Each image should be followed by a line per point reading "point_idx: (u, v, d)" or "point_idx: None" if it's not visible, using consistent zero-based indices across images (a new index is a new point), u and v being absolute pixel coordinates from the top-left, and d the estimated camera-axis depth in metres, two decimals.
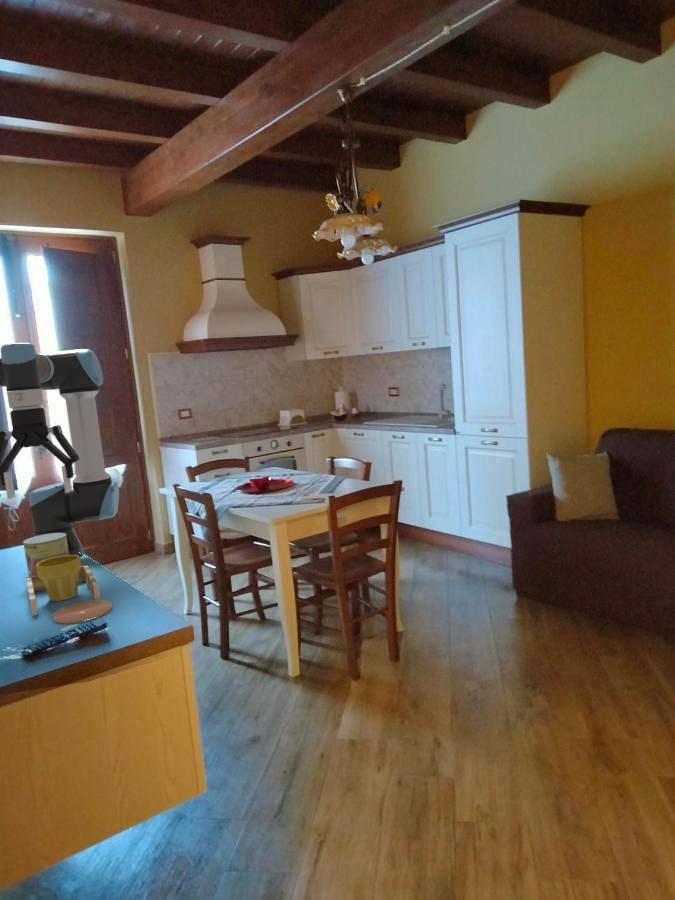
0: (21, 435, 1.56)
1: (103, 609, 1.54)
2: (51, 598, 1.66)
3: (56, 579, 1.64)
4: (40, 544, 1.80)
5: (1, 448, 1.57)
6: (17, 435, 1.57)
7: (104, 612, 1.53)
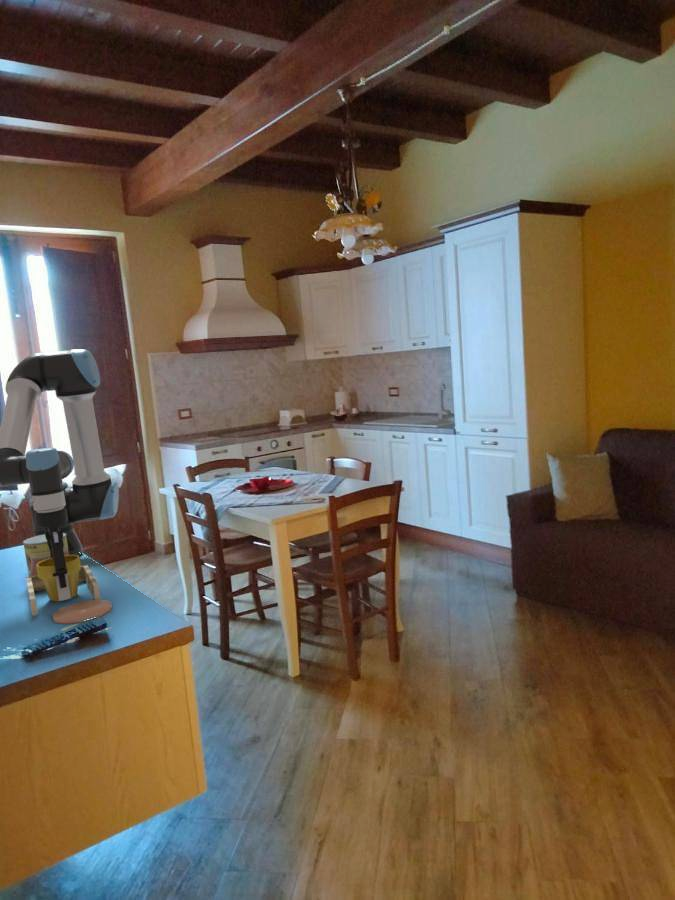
0: (45, 534, 1.67)
1: (103, 609, 1.54)
2: (51, 598, 1.66)
3: None
4: (40, 544, 1.80)
5: None
6: None
7: (104, 612, 1.53)
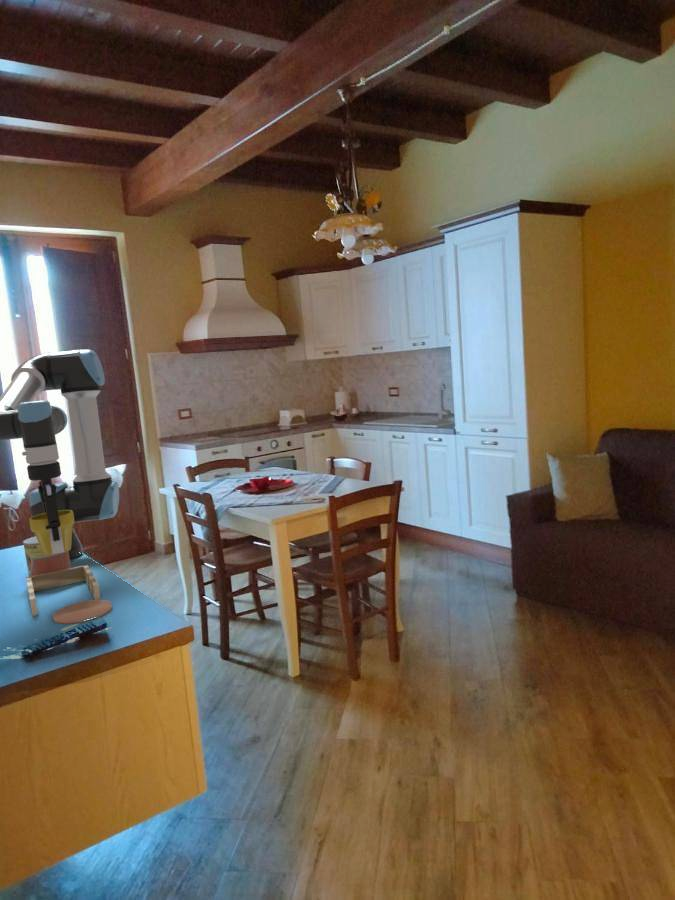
0: (38, 487, 1.66)
1: (103, 609, 1.54)
2: (44, 552, 1.65)
3: None
4: None
5: None
6: None
7: (104, 612, 1.53)
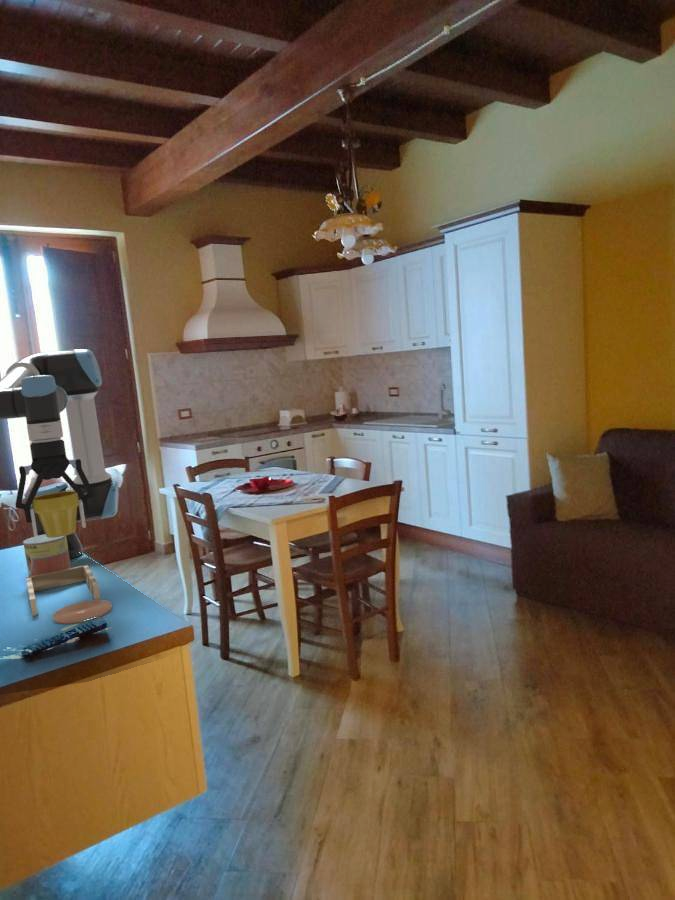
0: (44, 468, 1.55)
1: (103, 609, 1.54)
2: (69, 531, 1.58)
3: (76, 507, 1.60)
4: (40, 544, 1.80)
5: (24, 484, 1.54)
6: (38, 467, 1.56)
7: (104, 612, 1.53)
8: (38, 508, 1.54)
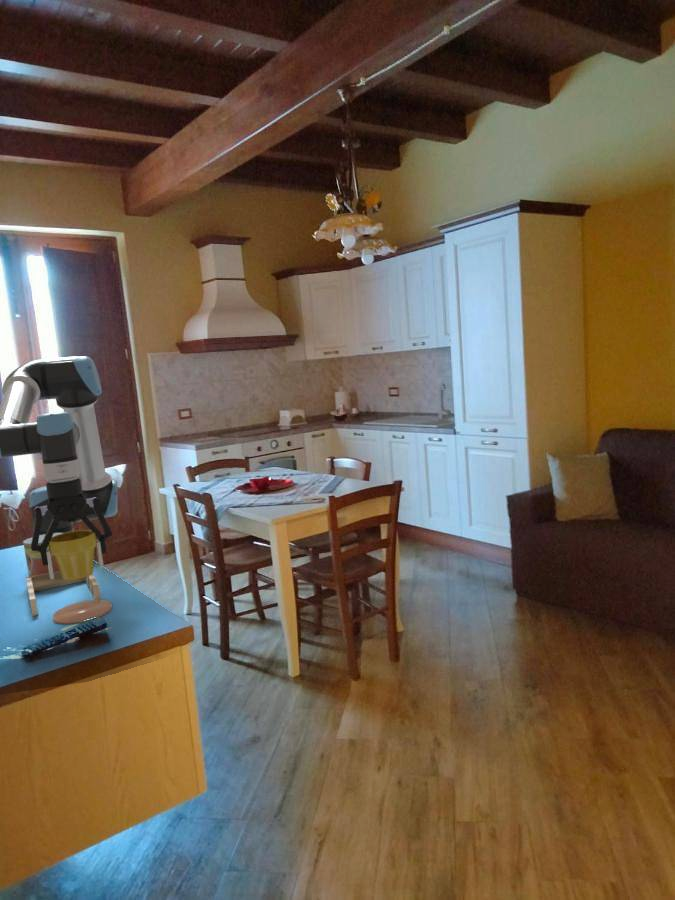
0: (61, 508, 1.50)
1: (103, 609, 1.54)
2: (86, 573, 1.52)
3: (94, 547, 1.54)
4: (40, 544, 1.80)
5: (40, 525, 1.48)
6: (55, 508, 1.50)
7: (104, 612, 1.53)
8: (55, 550, 1.48)
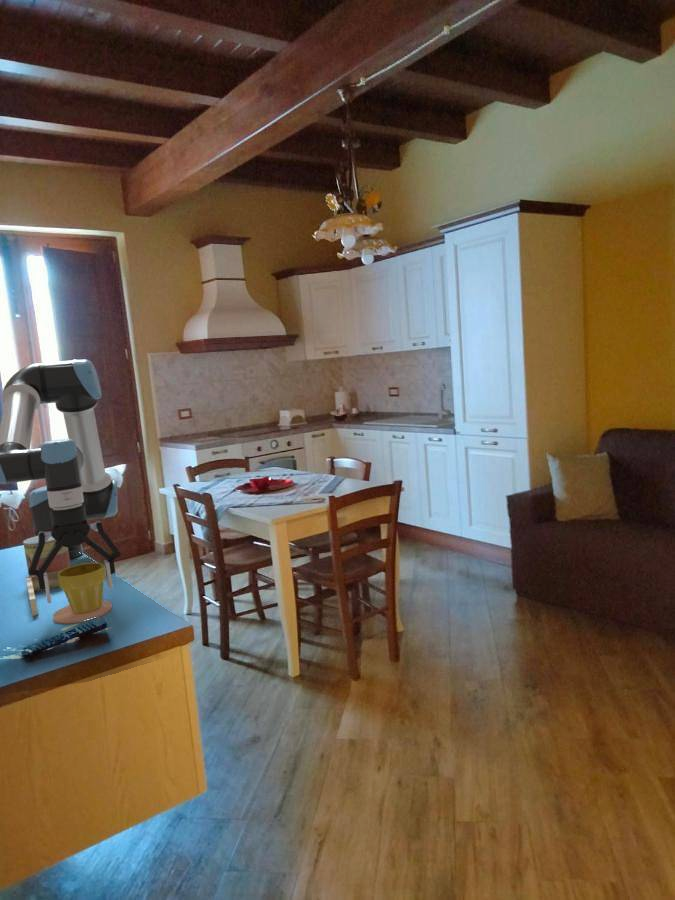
0: (65, 535, 1.50)
1: (103, 609, 1.54)
2: (96, 606, 1.54)
3: None
4: None
5: (41, 550, 1.49)
6: (59, 535, 1.51)
7: (104, 612, 1.53)
8: (65, 585, 1.50)
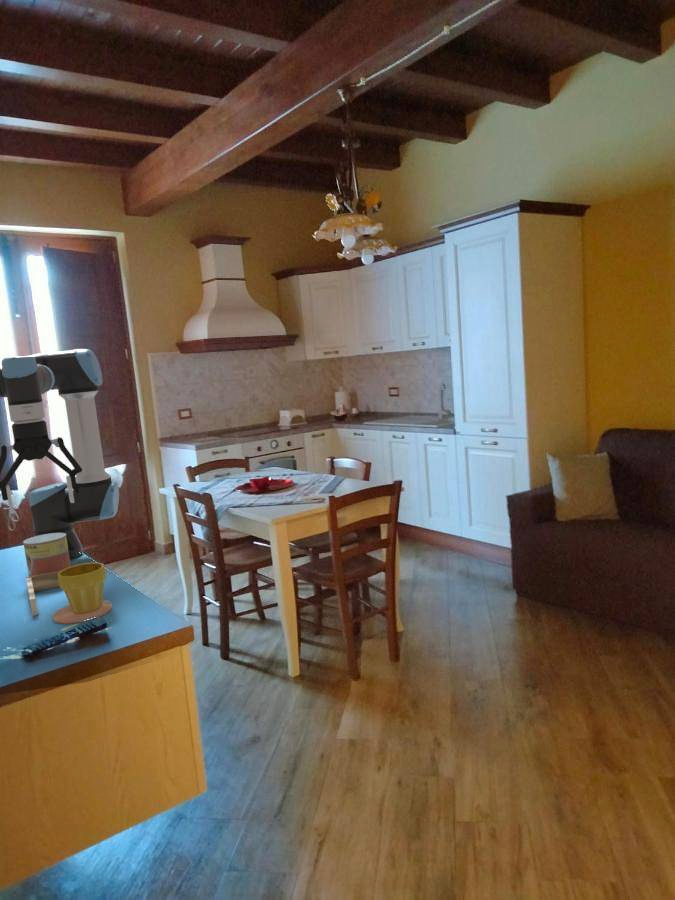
0: (26, 448, 1.56)
1: (103, 609, 1.54)
2: (96, 606, 1.54)
3: (103, 581, 1.56)
4: (40, 544, 1.80)
5: (3, 463, 1.55)
6: (20, 449, 1.56)
7: (104, 612, 1.53)
8: (65, 585, 1.50)
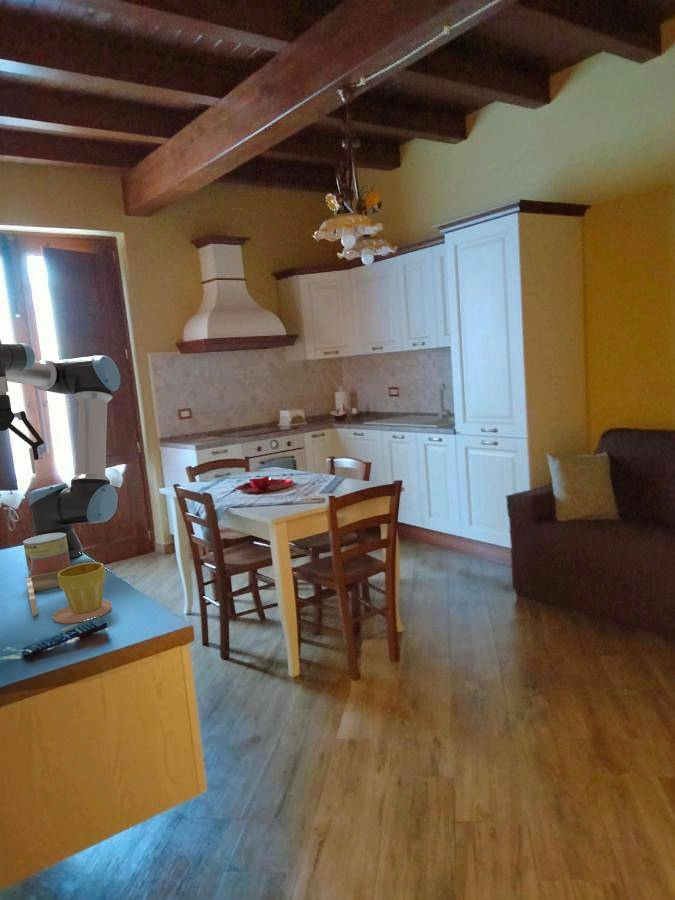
0: None
1: (103, 609, 1.54)
2: (96, 606, 1.54)
3: (103, 580, 1.56)
4: (40, 544, 1.80)
5: None
6: None
7: (104, 612, 1.53)
8: (64, 585, 1.50)
